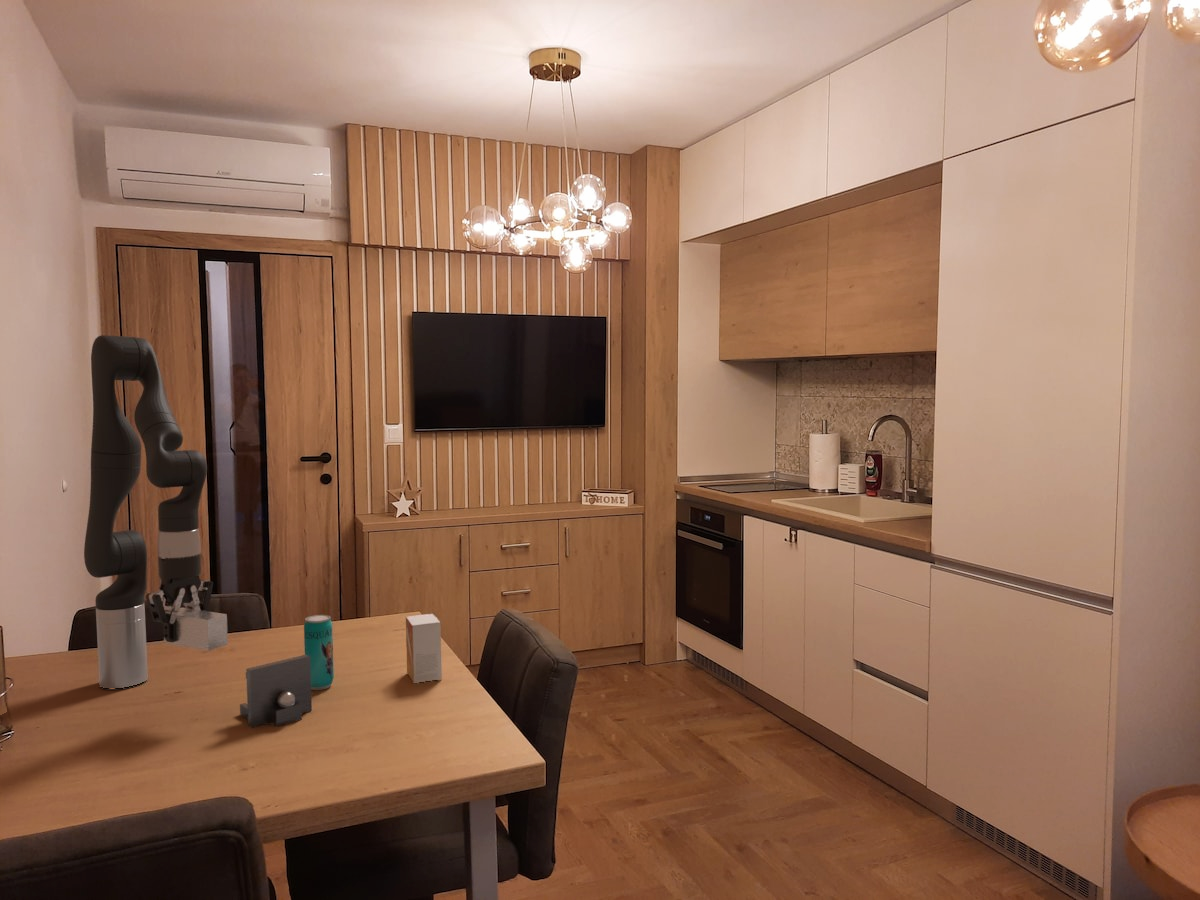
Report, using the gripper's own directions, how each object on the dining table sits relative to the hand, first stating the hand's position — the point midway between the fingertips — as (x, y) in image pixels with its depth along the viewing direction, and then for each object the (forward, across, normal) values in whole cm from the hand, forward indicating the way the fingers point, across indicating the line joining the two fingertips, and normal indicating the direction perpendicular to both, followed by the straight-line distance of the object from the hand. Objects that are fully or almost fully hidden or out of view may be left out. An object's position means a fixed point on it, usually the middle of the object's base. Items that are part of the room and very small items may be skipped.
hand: (182, 637), depth 167 cm
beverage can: (+15, -22, +15) cm, 30 cm away
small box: (+15, -36, +32) cm, 50 cm away
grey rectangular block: (+1, 0, +4) cm, 4 cm away
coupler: (+15, -5, +19) cm, 24 cm away
